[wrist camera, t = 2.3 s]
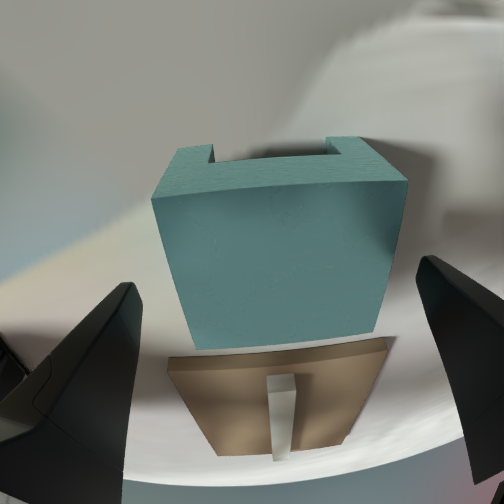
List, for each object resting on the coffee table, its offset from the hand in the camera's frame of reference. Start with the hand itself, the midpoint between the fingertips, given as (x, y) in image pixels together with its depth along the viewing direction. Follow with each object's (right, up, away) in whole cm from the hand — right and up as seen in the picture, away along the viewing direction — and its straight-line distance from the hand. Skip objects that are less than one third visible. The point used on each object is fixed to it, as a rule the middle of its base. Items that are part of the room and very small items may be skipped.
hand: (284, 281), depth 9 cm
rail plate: (+1, -12, +14) cm, 18 cm away
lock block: (0, +2, +3) cm, 4 cm away
